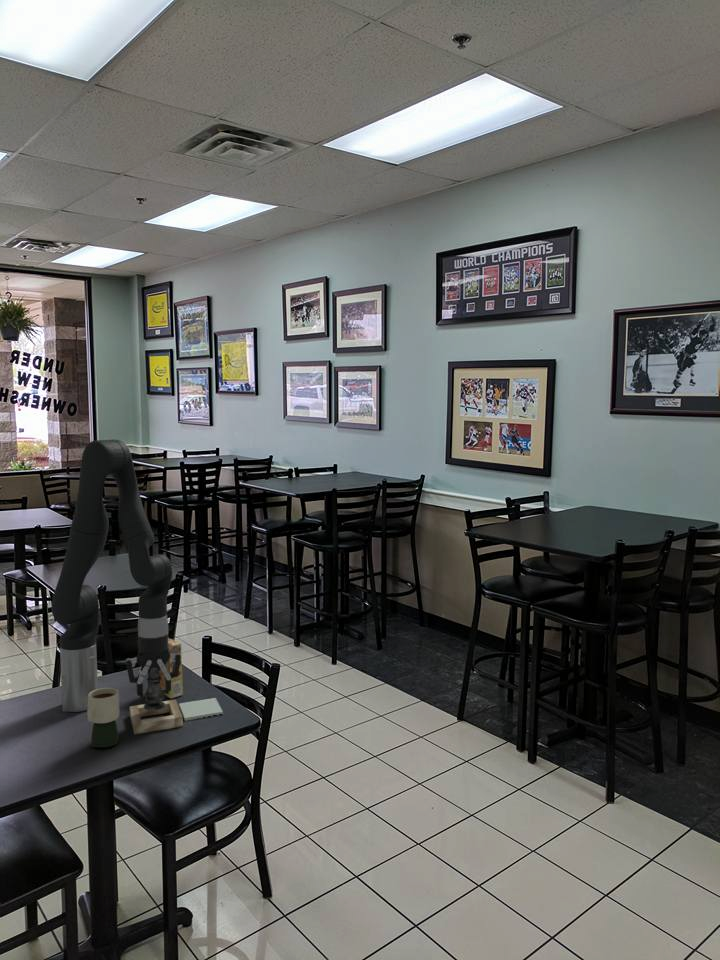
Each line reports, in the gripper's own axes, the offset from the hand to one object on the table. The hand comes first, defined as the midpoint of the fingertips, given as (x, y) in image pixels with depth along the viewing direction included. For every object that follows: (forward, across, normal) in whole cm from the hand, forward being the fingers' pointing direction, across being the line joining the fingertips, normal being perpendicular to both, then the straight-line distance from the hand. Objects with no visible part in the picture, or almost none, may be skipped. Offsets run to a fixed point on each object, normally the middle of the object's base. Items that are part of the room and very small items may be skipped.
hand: (153, 694), depth 185 cm
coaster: (+7, -12, -2) cm, 14 cm away
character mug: (+7, +13, +9) cm, 17 cm away
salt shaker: (+3, 0, 0) cm, 3 cm away
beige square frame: (+7, 0, 0) cm, 7 cm away
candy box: (+7, -6, -17) cm, 20 cm away
